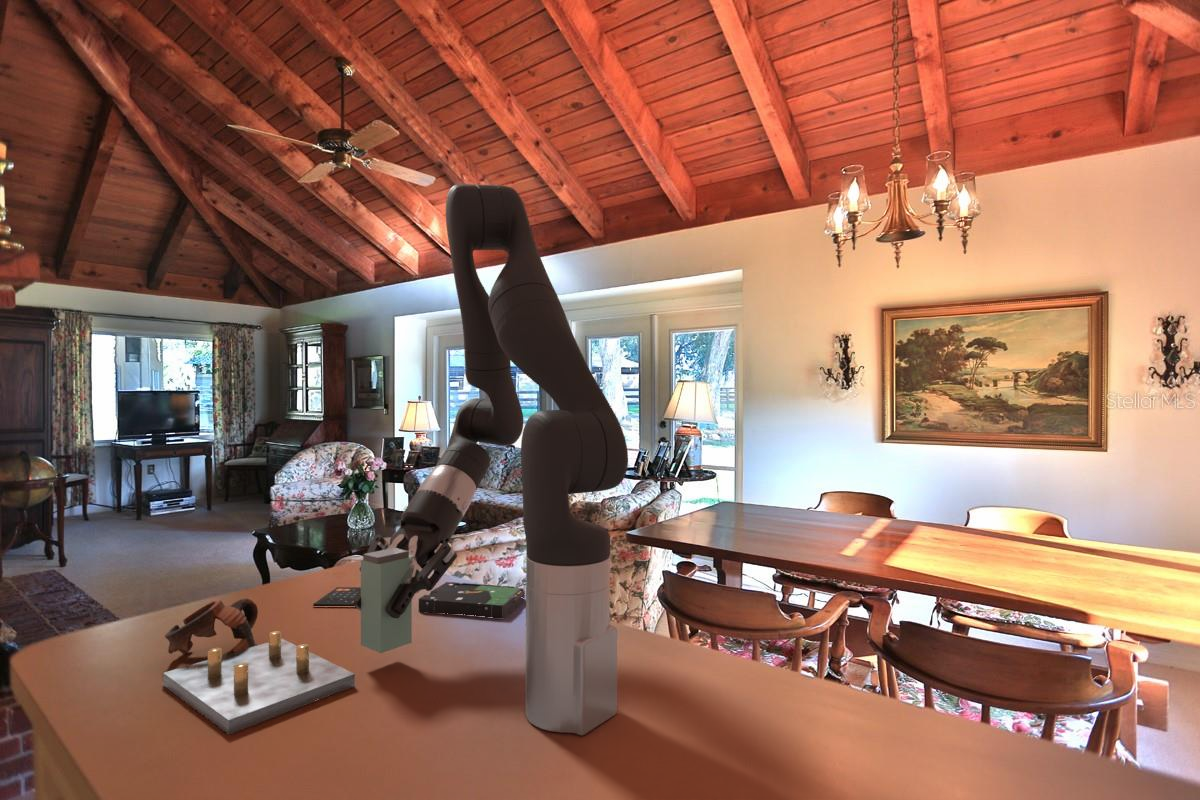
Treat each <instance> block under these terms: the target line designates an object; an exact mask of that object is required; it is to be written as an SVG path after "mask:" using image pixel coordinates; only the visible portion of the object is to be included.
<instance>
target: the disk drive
mask: <svg viewBox="0 0 1200 800" xmlns="http://www.w3.org/2000/svg"><path fill="white" fill-rule="evenodd" d="M525 591H526V590H524V587H515V586H510V585H508V586H507V585H494V584H480V583H479V584H478V583H466V582H455V581H454V582H453V581H451V582H450V581H446V582H444V583H443V584H441V585H439V586H438V587H436V588H433V589H432V590H430V593H429V594H424V595H422V596H421V597H419V598H418V612H419V611H420V612H419V613H424V612H428V613H427V614H436V613H445V614H444V615H447V613H448V614H463V615H464V614H465V615H474V616H475V615H476V616H485V617H493V618H502V619H501V620H504V619H506V618H507V615H508V614H509V615H510V614H511V613H512V612H513V611H514V610H515V609H517V608H518V607H519V606H520V605H521V604H522V603H523V602H524V601H526V592H525ZM521 597H523V598H525V599H523V598H521ZM516 607H517V608H516ZM509 615H508V616H509ZM493 618H492V619H493ZM503 618H504V619H503Z"/></svg>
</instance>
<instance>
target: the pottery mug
mask: <svg viewBox="0 0 1200 800" xmlns="http://www.w3.org/2000/svg"><path fill="white" fill-rule="evenodd" d="M258 610H259V609H258V605H257V604H256V603H255V602H254V601H253V600H252V599H249V598H241V599H239V600H236V602H235V601H234V603H232V604H231V605H230V606H229V605H225V604H224V602H223V601H222V599H217V600H213V601H211V602H209V603H207V604H206V605H203V606H202V607H200V608H199V609H197V610H195V611H194V612H192V613H191V614H190V615H188V616H187V617H185V618H184V619H183V620H182V621H183V624H184V625H183V626H179V624H176V625H174V626H173V627H172V628H171V629H170V630H168V632H167V633H165V635H164V638H166V640H167V641H168V642H169V644H168V650H167V653H168V654H174V653H176V652H179V653H181V654H183V655H187V654H188V653H189V652H190V650H192V648H193V645H194V643H193V641H192V635H193V636H195V637H196V638H213V637H214V636H217V635H218V634H217V632H216V630H215V623H216V622H215V621H216V620H219V621H220V622H222V624H223V625H224V626H227V627H228V628H229V629H230V630H231V632H232V635H233V638H234V639H235V640H238V639H240V641H239V642H238V643H237V644H235V646H234V647H232V653H233V652H237V651H240V650H244V649H247V648H251V647H254V646H257V645H256V642H255V638H254V634H253V632H252V629H253V627H254V626H255V623H256V621H257V620H258V619H257V618H258ZM242 611H243V612H242Z"/></svg>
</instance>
